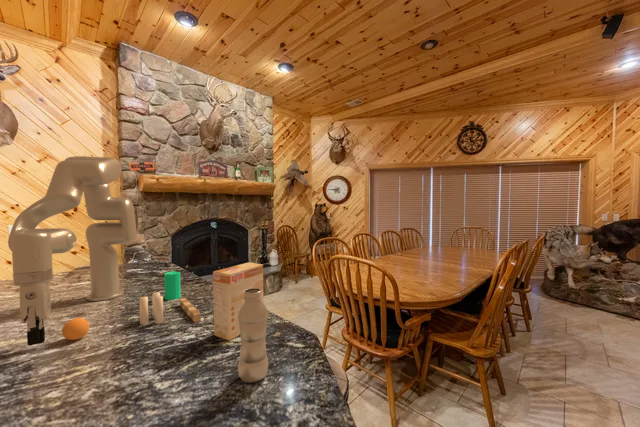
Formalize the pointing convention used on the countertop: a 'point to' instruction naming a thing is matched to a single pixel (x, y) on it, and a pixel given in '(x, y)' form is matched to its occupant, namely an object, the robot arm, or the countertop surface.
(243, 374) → the plastic bottle
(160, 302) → the back pin near
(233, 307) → the coffeecake box
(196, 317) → the back wall
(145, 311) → the front pin
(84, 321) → the ball
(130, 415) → the countertop surface
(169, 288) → the candle
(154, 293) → the back pin far
